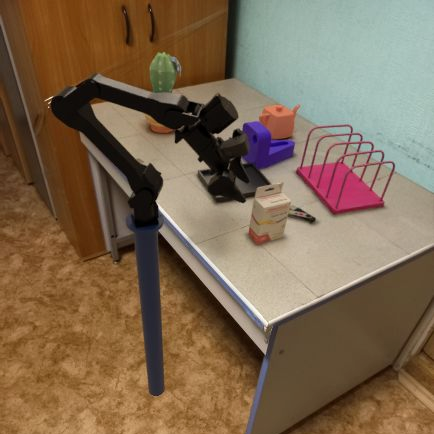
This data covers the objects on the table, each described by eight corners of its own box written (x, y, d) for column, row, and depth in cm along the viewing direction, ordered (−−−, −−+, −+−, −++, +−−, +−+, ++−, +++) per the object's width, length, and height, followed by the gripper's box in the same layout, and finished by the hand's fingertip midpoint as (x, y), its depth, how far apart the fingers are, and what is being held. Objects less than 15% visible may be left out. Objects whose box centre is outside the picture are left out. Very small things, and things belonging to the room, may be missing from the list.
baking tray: (216, 203, 124) (216, 198, 122) (197, 175, 134) (197, 170, 133) (274, 193, 130) (275, 188, 128) (252, 167, 140) (252, 162, 139)
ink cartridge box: (257, 245, 111) (265, 197, 101) (247, 234, 114) (254, 187, 104) (284, 237, 114) (294, 190, 104) (274, 227, 117) (283, 180, 107)
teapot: (248, 130, 159) (252, 102, 152) (287, 123, 166) (292, 96, 158) (264, 144, 152) (269, 115, 145) (305, 136, 159) (311, 108, 151)
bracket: (254, 169, 139) (259, 135, 131) (239, 154, 146) (243, 120, 137) (300, 160, 145) (307, 127, 137) (283, 146, 152) (289, 113, 143)
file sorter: (341, 166, 144) (354, 121, 133) (383, 207, 128) (403, 159, 117) (295, 171, 140) (305, 125, 128) (333, 215, 123) (348, 166, 112)
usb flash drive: (316, 220, 120) (316, 217, 120) (304, 227, 118) (305, 224, 117) (292, 207, 125) (293, 204, 124) (281, 213, 122) (281, 210, 121)
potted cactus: (178, 139, 150) (178, 63, 133) (136, 133, 151) (131, 57, 134) (187, 121, 161) (188, 49, 144) (148, 116, 162) (144, 43, 145)
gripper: (225, 142, 87) (270, 195, 95) (236, 107, 101) (275, 156, 108) (187, 171, 94) (232, 219, 101) (202, 135, 107) (241, 179, 114)
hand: (246, 191), depth 106 cm, fingers open, 9 cm apart
